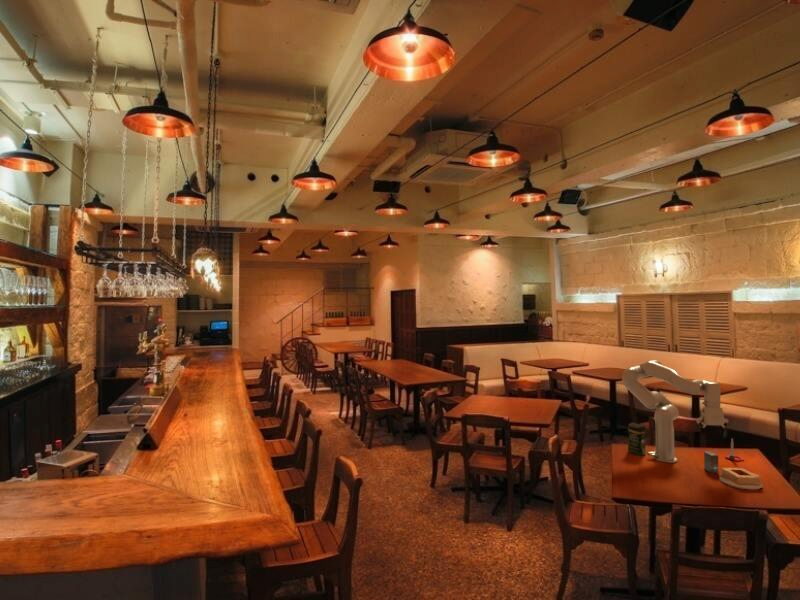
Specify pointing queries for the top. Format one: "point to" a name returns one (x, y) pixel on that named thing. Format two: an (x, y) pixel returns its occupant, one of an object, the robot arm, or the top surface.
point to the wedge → (711, 462)
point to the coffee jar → (636, 439)
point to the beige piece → (740, 478)
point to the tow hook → (731, 456)
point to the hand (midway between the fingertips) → (712, 434)
